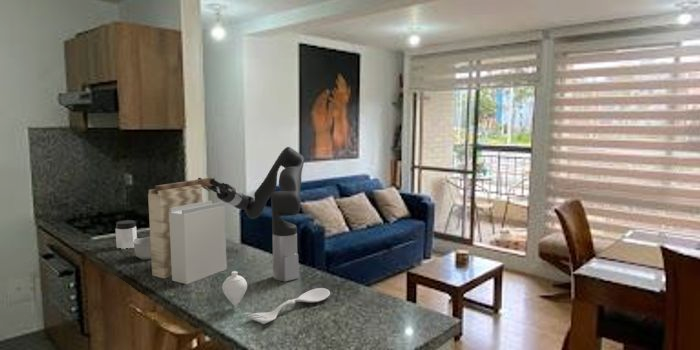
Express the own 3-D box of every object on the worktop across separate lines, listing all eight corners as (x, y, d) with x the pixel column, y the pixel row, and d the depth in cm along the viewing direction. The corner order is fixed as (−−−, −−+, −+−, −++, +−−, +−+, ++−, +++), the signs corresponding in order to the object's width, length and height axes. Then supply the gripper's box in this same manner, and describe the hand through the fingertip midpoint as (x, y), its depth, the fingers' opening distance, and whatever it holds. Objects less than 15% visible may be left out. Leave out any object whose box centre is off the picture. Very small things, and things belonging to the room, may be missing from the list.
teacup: (165, 257, 203) (164, 239, 202) (140, 262, 195) (139, 244, 194) (151, 251, 212) (150, 234, 211) (127, 256, 204) (126, 238, 203)
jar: (117, 250, 214) (116, 224, 213) (115, 246, 221) (114, 221, 219) (138, 247, 219) (137, 222, 218) (135, 243, 226) (134, 219, 224)
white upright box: (212, 266, 191) (210, 200, 188) (226, 269, 187) (224, 202, 184) (172, 280, 174) (168, 208, 170) (186, 284, 170) (183, 210, 166)
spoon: (242, 323, 138) (242, 312, 137) (316, 292, 162) (315, 282, 162) (262, 332, 132) (262, 320, 132) (335, 298, 157) (335, 288, 156)
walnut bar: (209, 184, 200) (209, 177, 200) (214, 185, 199) (214, 178, 199) (155, 193, 176) (155, 185, 176) (160, 194, 175) (160, 186, 174)
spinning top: (221, 305, 150) (220, 269, 149) (245, 302, 153) (244, 266, 152) (224, 314, 143) (223, 277, 142) (249, 310, 146) (248, 273, 145)
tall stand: (193, 261, 196) (190, 183, 193) (204, 264, 193) (201, 184, 189) (152, 275, 179) (147, 189, 175) (164, 278, 176) (160, 191, 172)
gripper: (221, 186, 213) (195, 171, 199) (244, 188, 206) (219, 173, 192) (215, 201, 210) (189, 187, 197) (238, 204, 203) (213, 189, 190)
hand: (204, 180), depth 195 cm, fingers open, 7 cm apart
